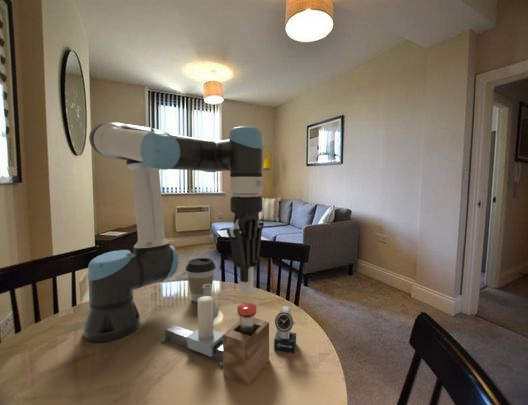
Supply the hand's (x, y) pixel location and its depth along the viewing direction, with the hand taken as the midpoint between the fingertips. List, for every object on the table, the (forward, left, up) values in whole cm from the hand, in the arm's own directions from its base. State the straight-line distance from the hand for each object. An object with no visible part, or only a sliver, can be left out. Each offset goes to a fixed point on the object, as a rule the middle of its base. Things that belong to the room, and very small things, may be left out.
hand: (247, 293), depth 63 cm
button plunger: (0, 0, -10) cm, 10 cm away
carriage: (-13, 0, -17) cm, 22 cm away
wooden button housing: (0, 0, -19) cm, 19 cm away
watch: (+5, +12, -19) cm, 23 cm away
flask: (-26, +16, -19) cm, 36 cm away
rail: (-16, 0, -19) cm, 25 cm away
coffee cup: (-36, +24, -19) cm, 47 cm away
